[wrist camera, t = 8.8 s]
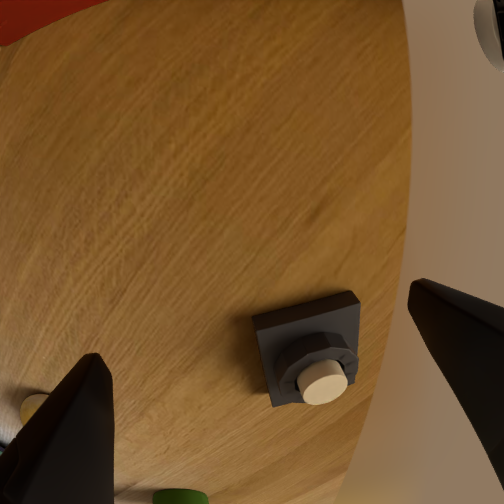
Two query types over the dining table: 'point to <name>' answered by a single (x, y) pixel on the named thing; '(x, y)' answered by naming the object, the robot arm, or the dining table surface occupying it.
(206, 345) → the dining table surface
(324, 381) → the button
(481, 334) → the robot arm
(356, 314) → the block
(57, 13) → the toaster
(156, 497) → the wine bottle
